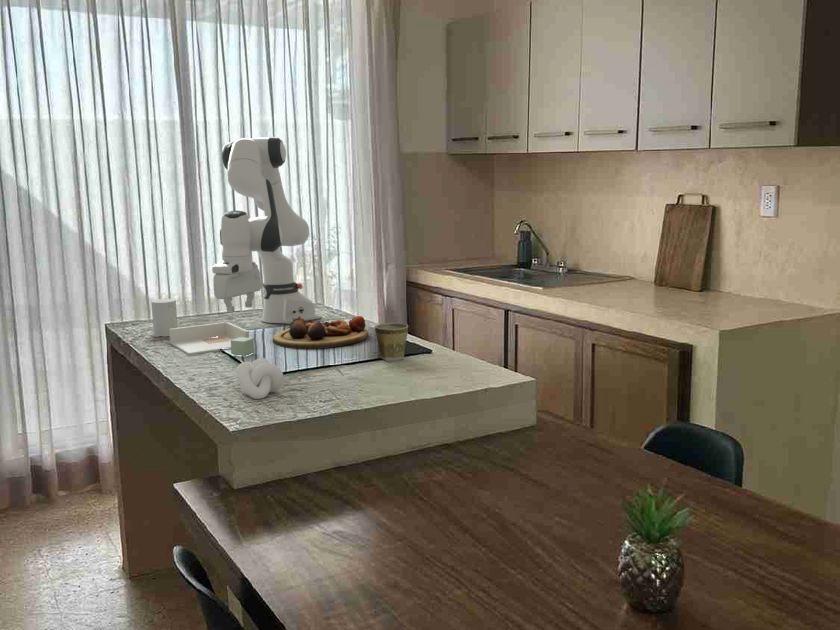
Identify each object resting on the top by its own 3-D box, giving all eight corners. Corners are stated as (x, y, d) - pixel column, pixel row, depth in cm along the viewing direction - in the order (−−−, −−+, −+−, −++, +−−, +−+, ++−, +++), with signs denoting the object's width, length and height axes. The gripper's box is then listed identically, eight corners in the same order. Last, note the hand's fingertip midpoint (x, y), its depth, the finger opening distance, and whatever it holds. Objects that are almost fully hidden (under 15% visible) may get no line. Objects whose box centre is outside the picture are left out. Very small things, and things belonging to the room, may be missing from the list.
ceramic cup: (404, 363, 242) (404, 329, 240) (372, 362, 244) (371, 328, 242) (414, 352, 254) (413, 321, 252) (382, 351, 256) (381, 320, 254)
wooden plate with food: (375, 329, 291) (374, 306, 290) (359, 349, 260) (358, 323, 259) (287, 331, 295) (285, 308, 293) (261, 350, 263) (259, 325, 262)
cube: (241, 352, 259) (240, 337, 258) (254, 353, 257) (253, 338, 256) (231, 356, 254) (230, 340, 253) (245, 357, 253) (244, 341, 252)
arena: (228, 335, 284) (227, 321, 283) (249, 346, 267) (248, 331, 266) (170, 343, 273) (169, 328, 272) (188, 354, 257) (187, 339, 256)
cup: (174, 336, 284) (171, 302, 282) (150, 337, 284) (147, 302, 282) (181, 331, 292) (178, 298, 290) (158, 332, 292) (155, 298, 290)
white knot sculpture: (287, 388, 217) (286, 355, 216) (281, 401, 205) (279, 366, 204) (244, 389, 217) (242, 356, 215) (236, 402, 205) (233, 367, 204)
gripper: (248, 260, 261) (250, 303, 263) (208, 268, 243) (211, 314, 245) (265, 261, 259) (267, 304, 261) (226, 269, 240) (228, 315, 243)
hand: (239, 309), depth 253 cm, fingers open, 8 cm apart
